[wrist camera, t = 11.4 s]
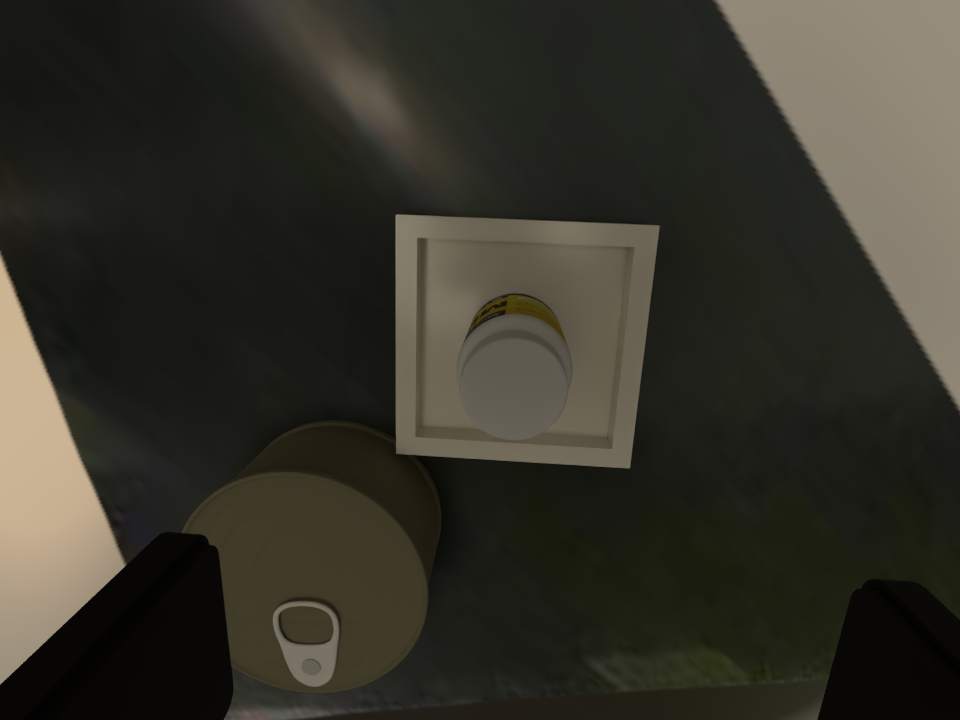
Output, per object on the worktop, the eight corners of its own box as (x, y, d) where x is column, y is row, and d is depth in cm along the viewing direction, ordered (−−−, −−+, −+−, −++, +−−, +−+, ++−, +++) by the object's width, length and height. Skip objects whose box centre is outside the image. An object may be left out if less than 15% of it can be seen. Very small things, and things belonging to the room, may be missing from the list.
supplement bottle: (500, 273, 27) (494, 300, 19) (579, 323, 28) (606, 370, 20) (451, 352, 28) (425, 409, 20) (527, 399, 29) (532, 473, 21)
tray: (404, 214, 27) (395, 214, 25) (648, 224, 27) (659, 225, 25) (403, 437, 30) (396, 453, 28) (621, 450, 30) (629, 468, 28)
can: (439, 414, 30) (418, 471, 24) (451, 599, 33) (435, 696, 27) (228, 417, 31) (150, 473, 24) (258, 598, 34) (197, 691, 27)
